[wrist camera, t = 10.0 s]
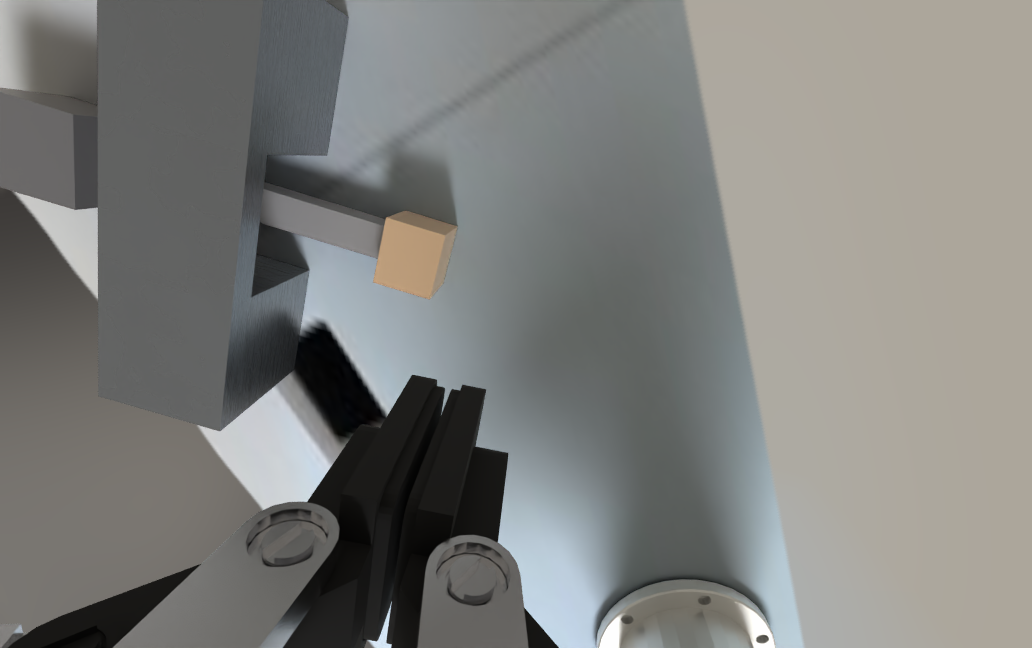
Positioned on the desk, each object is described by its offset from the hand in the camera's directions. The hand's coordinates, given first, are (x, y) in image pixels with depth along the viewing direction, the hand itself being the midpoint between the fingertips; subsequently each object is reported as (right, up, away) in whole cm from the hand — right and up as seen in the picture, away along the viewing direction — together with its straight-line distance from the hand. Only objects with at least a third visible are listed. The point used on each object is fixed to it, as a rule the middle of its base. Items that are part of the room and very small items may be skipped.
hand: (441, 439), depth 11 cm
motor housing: (-12, +10, +16) cm, 22 cm away
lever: (-13, +10, +16) cm, 23 cm away
